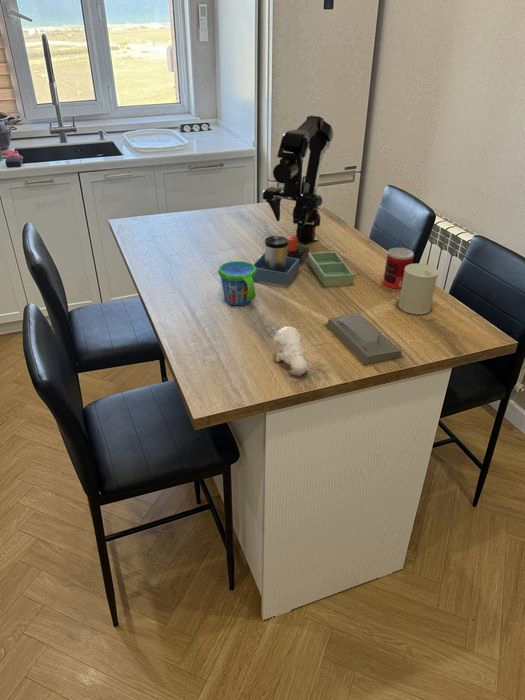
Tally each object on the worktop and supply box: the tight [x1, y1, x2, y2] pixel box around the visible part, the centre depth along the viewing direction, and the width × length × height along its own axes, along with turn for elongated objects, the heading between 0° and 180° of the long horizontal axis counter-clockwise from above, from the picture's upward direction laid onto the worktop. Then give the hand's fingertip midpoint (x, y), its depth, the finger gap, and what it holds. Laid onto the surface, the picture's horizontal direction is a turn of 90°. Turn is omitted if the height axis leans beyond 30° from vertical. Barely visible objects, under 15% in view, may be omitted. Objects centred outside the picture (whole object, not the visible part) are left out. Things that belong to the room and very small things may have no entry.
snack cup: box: [217, 260, 257, 306], centre depth 156 cm, size 16×10×10 cm
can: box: [397, 262, 439, 315], centre depth 155 cm, size 9×9×12 cm
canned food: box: [382, 247, 415, 291], centre depth 166 cm, size 8×8×11 cm
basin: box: [252, 252, 301, 287], centre depth 172 cm, size 12×12×5 cm
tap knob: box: [285, 235, 299, 252], centre depth 183 cm, size 4×4×4 cm
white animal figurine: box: [273, 325, 309, 377], centre depth 129 cm, size 6×8×12 cm
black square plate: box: [287, 244, 310, 265], centre depth 185 cm, size 10×10×3 cm
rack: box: [307, 250, 355, 286], centre depth 175 cm, size 18×9×4 cm, turn 11°
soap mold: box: [326, 313, 402, 366], centre depth 141 cm, size 10×20×4 cm, turn 22°
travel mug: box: [264, 235, 288, 273], centre depth 170 cm, size 7×7×12 cm
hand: (290, 223), depth 180 cm, fingers open, 9 cm apart
